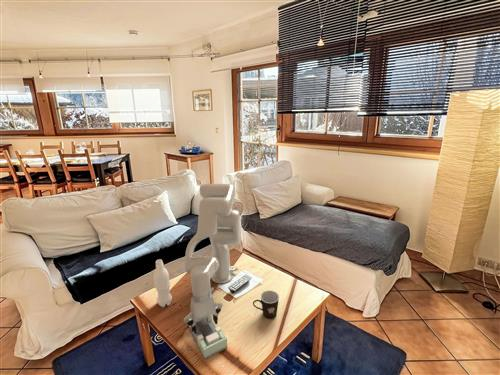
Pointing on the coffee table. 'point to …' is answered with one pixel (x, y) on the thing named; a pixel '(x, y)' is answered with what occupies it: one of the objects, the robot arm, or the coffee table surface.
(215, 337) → the grey rounded bar
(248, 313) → the coffee table surface
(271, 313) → the coffee mug
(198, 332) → the board
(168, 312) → the coffee table surface
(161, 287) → the water bottle
